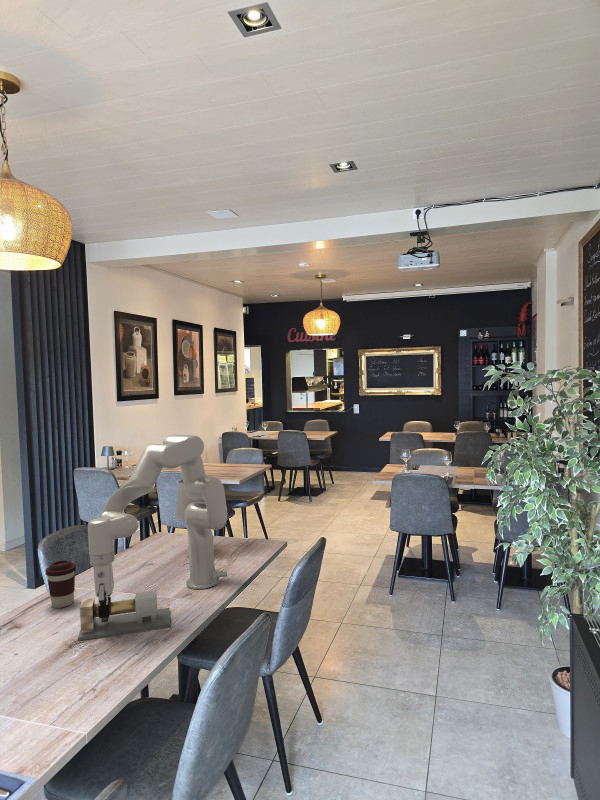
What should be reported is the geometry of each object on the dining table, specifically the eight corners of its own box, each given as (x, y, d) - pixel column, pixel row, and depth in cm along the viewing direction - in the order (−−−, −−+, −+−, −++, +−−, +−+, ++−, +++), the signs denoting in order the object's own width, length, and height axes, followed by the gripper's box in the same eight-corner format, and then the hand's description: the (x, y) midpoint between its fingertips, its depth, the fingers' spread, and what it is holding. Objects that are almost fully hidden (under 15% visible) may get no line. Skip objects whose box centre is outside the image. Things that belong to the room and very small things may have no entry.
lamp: (186, 548, 253) (182, 477, 252) (224, 548, 251) (221, 476, 249) (170, 561, 234) (167, 485, 233) (212, 562, 232) (209, 484, 231)
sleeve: (157, 613, 179) (156, 590, 179) (157, 621, 173) (156, 596, 173) (137, 616, 177) (135, 592, 177) (136, 624, 172) (135, 599, 171)
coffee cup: (83, 600, 196) (81, 559, 195) (63, 611, 186) (61, 568, 186) (62, 597, 199) (59, 557, 199) (41, 608, 190) (38, 566, 189)
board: (169, 610, 183) (169, 607, 183) (170, 626, 171) (170, 623, 171) (83, 623, 176) (83, 620, 176) (78, 640, 164) (77, 637, 164)
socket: (95, 622, 174) (94, 598, 174) (93, 631, 168) (92, 606, 168) (83, 623, 173) (82, 599, 173) (81, 632, 167) (79, 607, 167)
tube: (144, 609, 177) (143, 590, 177) (144, 616, 172) (143, 596, 172) (86, 618, 173) (85, 598, 173) (84, 625, 168) (83, 604, 168)
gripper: (112, 564, 164) (115, 622, 165) (116, 548, 180) (119, 601, 181) (86, 567, 162) (89, 626, 163) (92, 551, 178) (95, 604, 179)
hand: (105, 612), depth 172 cm, fingers closed on tube, 5 cm apart
